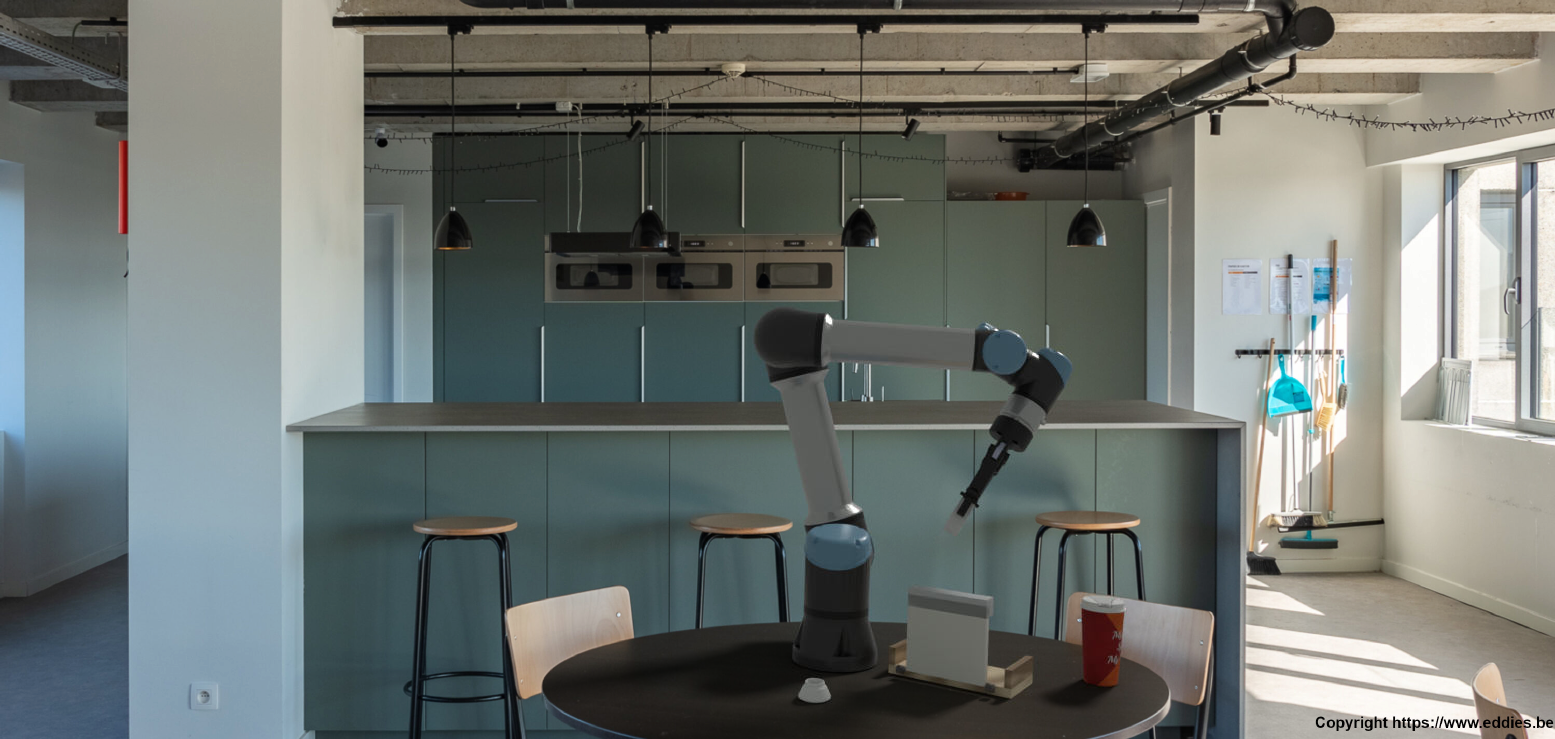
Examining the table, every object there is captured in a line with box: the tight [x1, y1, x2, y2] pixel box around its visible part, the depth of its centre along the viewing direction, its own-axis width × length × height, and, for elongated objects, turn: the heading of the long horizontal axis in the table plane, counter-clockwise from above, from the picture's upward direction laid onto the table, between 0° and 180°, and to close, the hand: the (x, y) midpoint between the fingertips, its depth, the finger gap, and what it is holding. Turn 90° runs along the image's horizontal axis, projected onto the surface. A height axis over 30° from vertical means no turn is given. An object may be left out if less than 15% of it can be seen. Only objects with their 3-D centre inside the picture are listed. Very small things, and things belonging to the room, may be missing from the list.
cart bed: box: [888, 638, 1034, 700], centre depth 176 cm, size 22×12×4 cm, turn 57°
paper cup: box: [1078, 595, 1128, 688], centre depth 177 cm, size 8×8×14 cm
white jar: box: [798, 677, 832, 704], centre depth 164 cm, size 5×3×5 cm
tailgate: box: [906, 584, 995, 687], centre depth 172 cm, size 14×3×14 cm, turn 57°
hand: (949, 531), depth 186 cm, fingers closed
